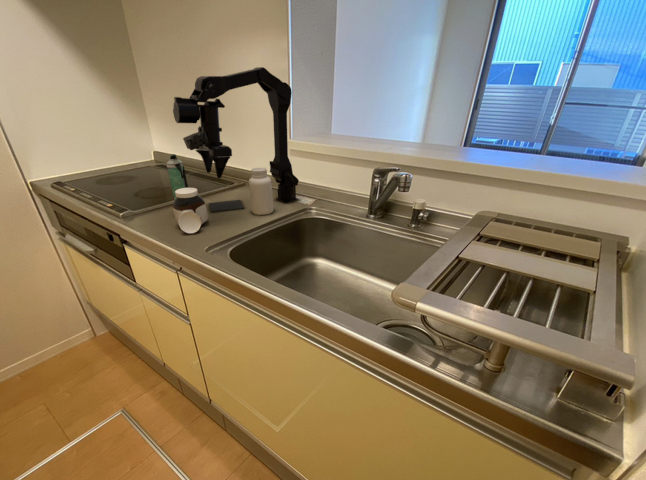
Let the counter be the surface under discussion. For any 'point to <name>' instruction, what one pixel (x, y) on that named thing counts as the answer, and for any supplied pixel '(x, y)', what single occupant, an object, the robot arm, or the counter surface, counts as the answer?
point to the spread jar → (189, 210)
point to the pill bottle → (261, 192)
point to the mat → (225, 206)
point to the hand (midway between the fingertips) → (213, 175)
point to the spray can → (176, 174)
